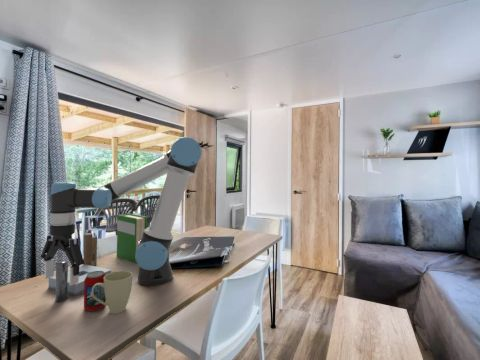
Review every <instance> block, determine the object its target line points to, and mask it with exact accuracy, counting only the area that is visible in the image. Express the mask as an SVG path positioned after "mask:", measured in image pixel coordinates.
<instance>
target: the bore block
mask: <svg viewBox="0 0 480 360" xmlns="http://www.w3.org/2000/svg"><path fill="white" fill-rule="evenodd" d="M94 271H104V273H105V275H107V274H109V273H112V269H109V268H105V267H99V266H96V265H95V266H91V265H83V264H82V265H80V266H79V278H78V283H76V284H74V285H70V269H68V292H67V295H72V296H75V297H76V296H78V295H80V294H84V280H85V278H86V276H87V274H88V273H90V272H94ZM48 289H50V290H53V291H56V274H54V276H53V277H50V278H48Z"/></svg>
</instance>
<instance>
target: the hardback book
mask: <svg viewBox="0 0 480 360" xmlns="http://www.w3.org/2000/svg"><path fill="white" fill-rule="evenodd" d="M116 219H117V221H116V222H117V224H116V225H117V227H116V229H117V230H116V257H117V258H120V259H122V260H125V261H127V262H130V263H132V264H136V263H137V262H136V259H135V253H136V250H137V248H138V241H140V240H141V238H142V234H143V230H144V229H147V228H148V216H146V215H139V214H134V213H123V214H117V218H116Z"/></svg>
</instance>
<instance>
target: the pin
mask: <svg viewBox="0 0 480 360" xmlns="http://www.w3.org/2000/svg"><path fill="white" fill-rule="evenodd" d="M68 270H69V260H59V261H57V262H56V263H55V275H56V290H55V296H54V297H55V299H54V301H55V303H62V302H64V301H67V300H68V294H67V292H68Z"/></svg>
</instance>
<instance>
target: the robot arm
mask: <svg viewBox="0 0 480 360" xmlns="http://www.w3.org/2000/svg"><path fill="white" fill-rule="evenodd" d="M202 152H203V151H202V146H201V145H200V144H199V141H197V140H196V139H195V138H193V137H189V136H182V137H179V138H177V139H176V140H175V141H174V142H173V143H172V145H171V147H170V150H169V151H167V152H165V153H164V155H163V156H162V157H160V158H158V159H156V160H155V159H154V160H153V161H152V162H150V163H147V164H145V165H143V166H141V167H139V168H137V169H135V170H133V171H131V172H129V173H127V174H125V175H123V176H120V177H119V178H117V179H115V180H112V181H110V182H108V183H106V184H104V185H102V186H99V187H77V184H76V182H69V181H67V182H66V181H65V182H64V181H63V182H62V181H57V182H53V183H52V184H51V186H50V187H51V188H50V213H49V223H50V226H49V234H48V235H47V236H46V240H45V243H44V246H43V249H42V252H41V254H40V259H43V261H44V279H46V280H47V279H49V278H50V277H53V276H54V275H55V255H56V254H57V253H58V250H61V251H62V252H63V253H65V255H66V257H67V259H68V262H69V263H70V265H71V266H70V267H69V270H70V285H74V284H76V283H78V278H79V267H80V266H83V264H84V260H83V256H84V255H83V254H82V251H81V247H80V243H79V238H78V237H75V238H74V237H73V234H75V232H76V229H75V228H76V224H75V222H76V209H80V208H84V209H91V208H92V209H104V208H105V209H106V208H108V207H110V206H111V204H112V202H113V201H115V200H117V199H119V198H120V197H124V196H126V195H127V194H129V193H131V192H132V191H135V190H137V189H138V188H141V187H143V186H145V185H147V184H148V183H151V182H153V181H155V180H156V179H160V178H161V177H163V176H165V175H166V178H165V181H164V183H163V186H162V190H161V192H160V194H159V195H160V196H159V198H158V201H157V203H156V207H155V209H154V212H153V215H152V218H151V222H150V225H149V226H148V227H147V229H144V230H143V234H142V238H141V241H140V244H139V247H138V248H137V250H136V253H135V259H136V263H137V265H138V267H139V272H138V274H137V283H139V284H141V285H142V286H161V285H163V284H165V283H168V282H170V281H171V280H172V279H173V277H174V275H173V273H174V271H173V270H172V266H171V262H170V248H171V245H172V242H173V239H174V236H173V233H172V230H173V227H174V225H175V221H176V218H177V215H178V213H179V210H180V209H179V208H180V206H181V203H182V200H183V197H184V194H185V190H186V188H187V185H188V182H189V179H190V177H192V176H194V175H195V173H196V170H197V166H198V163H199V161H200V159H201V157H202Z"/></svg>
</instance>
